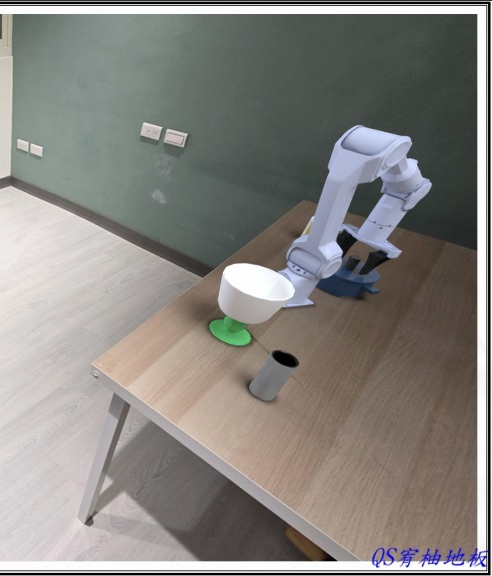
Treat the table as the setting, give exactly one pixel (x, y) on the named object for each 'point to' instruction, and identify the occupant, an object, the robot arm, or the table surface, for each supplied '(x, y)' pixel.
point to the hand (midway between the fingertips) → (349, 266)
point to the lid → (355, 271)
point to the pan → (345, 287)
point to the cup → (248, 300)
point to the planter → (273, 375)
